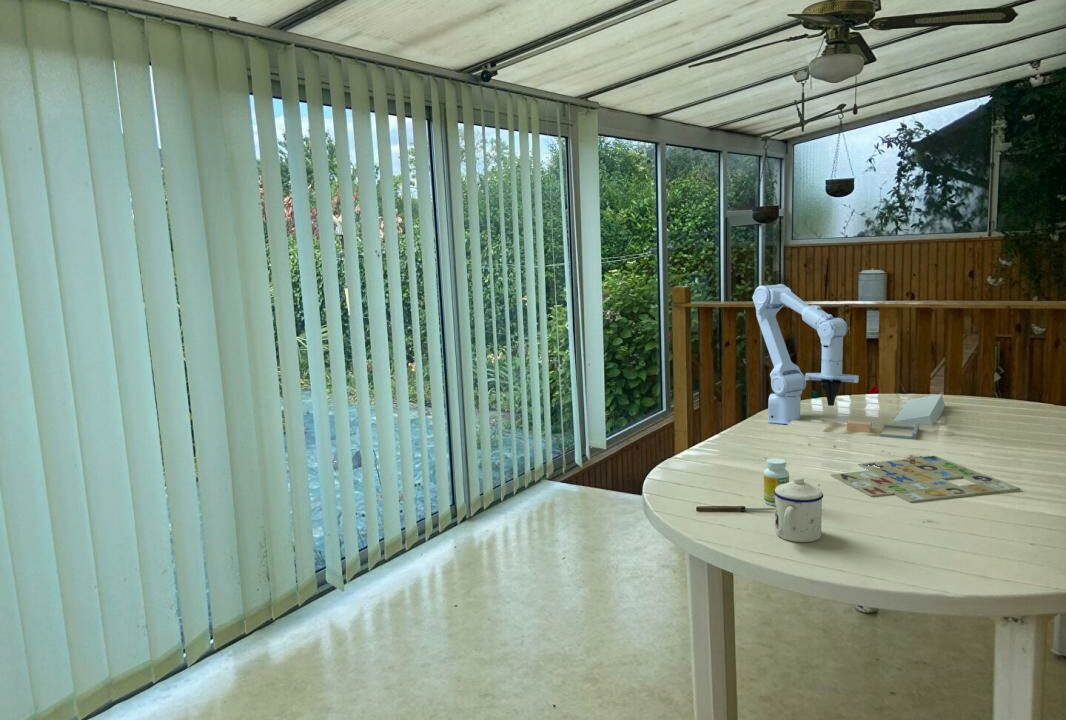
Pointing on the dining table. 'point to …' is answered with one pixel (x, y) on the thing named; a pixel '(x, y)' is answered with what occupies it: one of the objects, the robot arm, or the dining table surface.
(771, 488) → the supplement bottle
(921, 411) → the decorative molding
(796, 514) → the teacup with lid
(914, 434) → the tray
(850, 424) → the tile
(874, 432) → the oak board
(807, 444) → the dining table surface
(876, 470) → the alphabet tiles
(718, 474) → the dining table surface
